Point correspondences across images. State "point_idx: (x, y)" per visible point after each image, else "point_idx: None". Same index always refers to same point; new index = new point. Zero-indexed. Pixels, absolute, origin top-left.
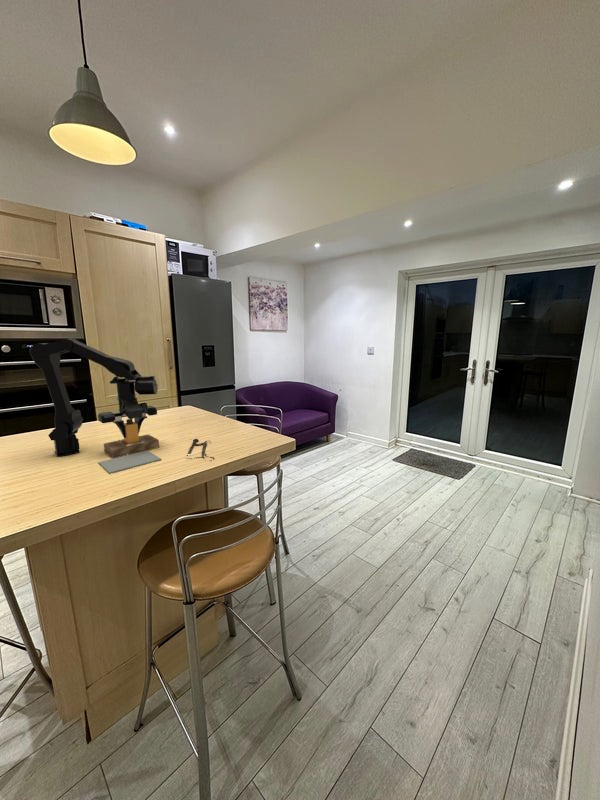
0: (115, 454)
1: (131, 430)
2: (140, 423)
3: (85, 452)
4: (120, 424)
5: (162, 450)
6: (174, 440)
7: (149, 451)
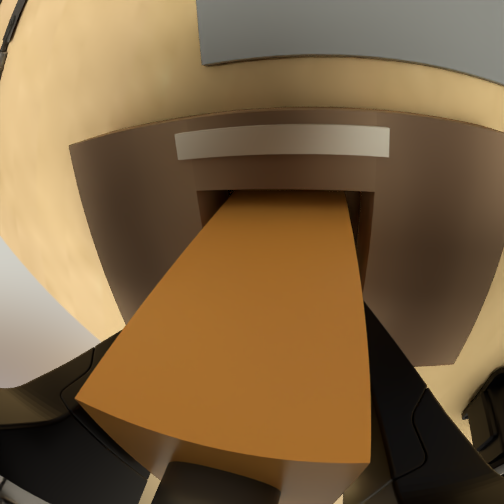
0: (478, 125)
1: (258, 322)
2: (57, 381)
3: (484, 360)
4: (486, 495)
5: (114, 39)
6: (42, 212)
7: (198, 26)
